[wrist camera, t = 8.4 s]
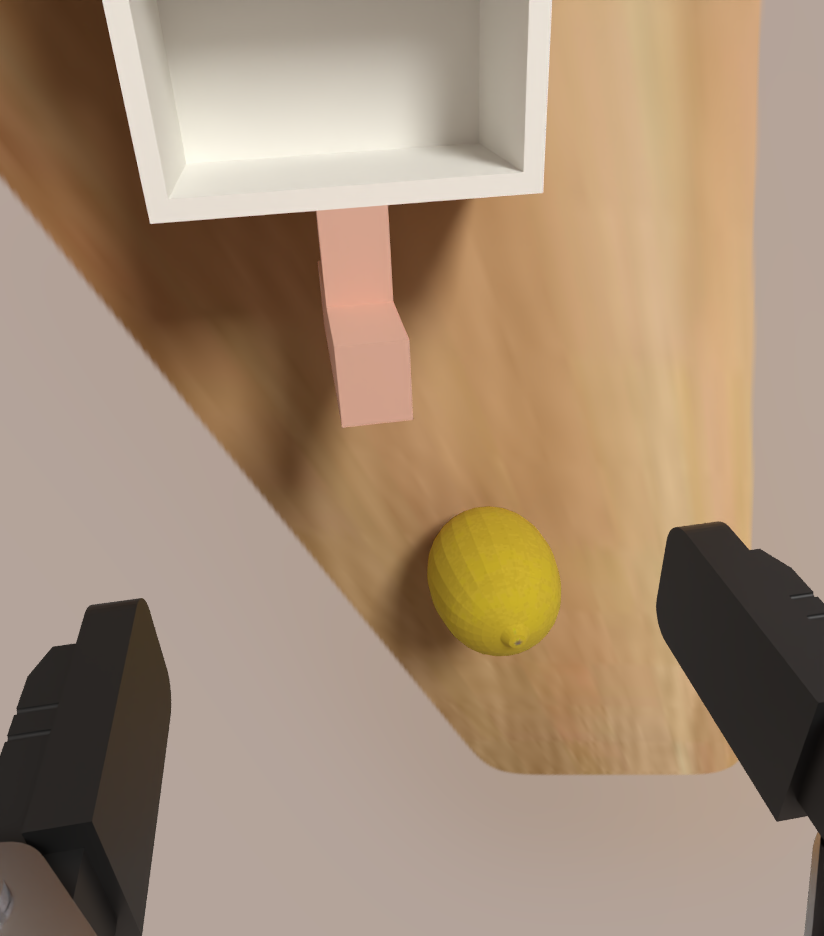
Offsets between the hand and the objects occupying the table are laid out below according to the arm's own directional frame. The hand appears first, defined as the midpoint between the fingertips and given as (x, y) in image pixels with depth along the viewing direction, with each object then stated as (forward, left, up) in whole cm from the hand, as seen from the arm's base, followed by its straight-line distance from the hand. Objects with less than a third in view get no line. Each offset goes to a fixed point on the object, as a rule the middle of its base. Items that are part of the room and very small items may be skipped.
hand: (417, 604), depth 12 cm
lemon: (+13, +6, -20) cm, 25 cm away
